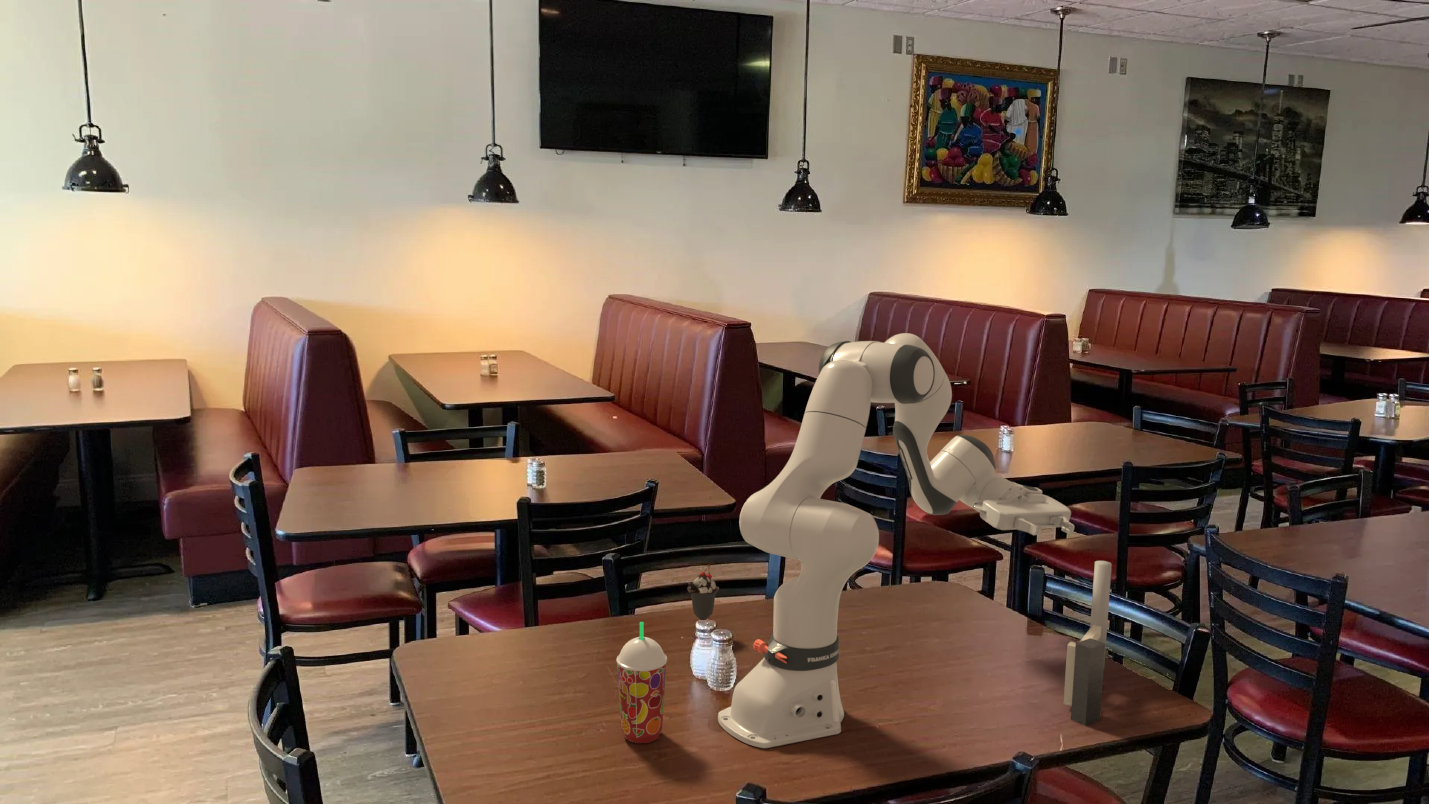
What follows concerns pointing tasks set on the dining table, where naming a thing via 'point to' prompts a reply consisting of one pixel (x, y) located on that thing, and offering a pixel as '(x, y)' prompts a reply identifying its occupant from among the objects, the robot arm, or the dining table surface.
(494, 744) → the dining table surface
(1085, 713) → the hinge post
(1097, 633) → the gate
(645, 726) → the smoothie
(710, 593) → the sundae
